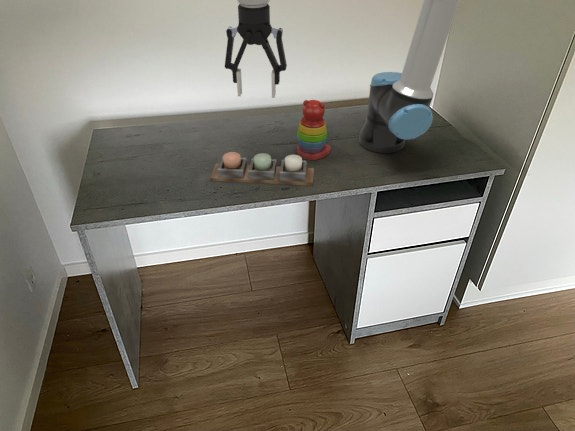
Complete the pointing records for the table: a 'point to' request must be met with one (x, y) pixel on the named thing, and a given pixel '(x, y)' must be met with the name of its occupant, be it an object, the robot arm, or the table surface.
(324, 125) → the stacking bear
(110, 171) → the table surface
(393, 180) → the table surface
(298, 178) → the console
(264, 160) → the sage button
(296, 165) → the ivory button
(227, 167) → the terracotta button
